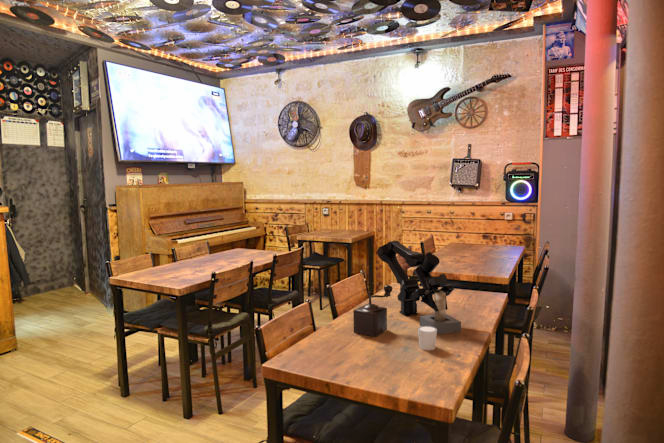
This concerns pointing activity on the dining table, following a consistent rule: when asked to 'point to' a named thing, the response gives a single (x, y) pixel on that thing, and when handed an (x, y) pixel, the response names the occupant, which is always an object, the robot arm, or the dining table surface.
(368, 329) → the pepper mill
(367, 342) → the dining table surface
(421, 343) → the shot glass
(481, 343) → the dining table surface
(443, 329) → the socket
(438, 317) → the peg
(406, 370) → the dining table surface
